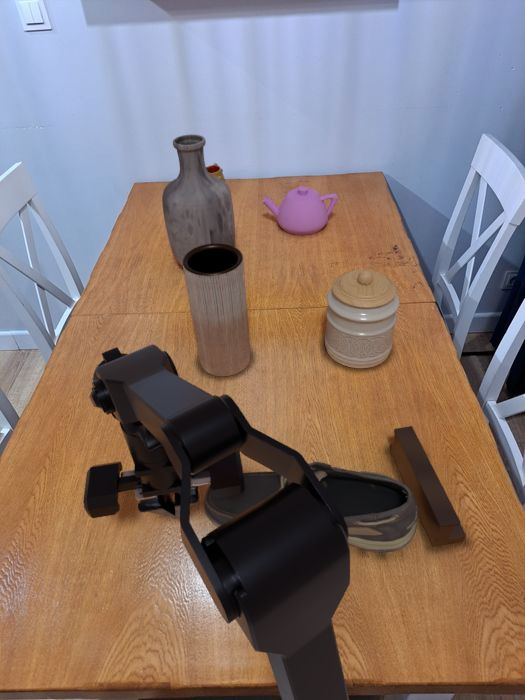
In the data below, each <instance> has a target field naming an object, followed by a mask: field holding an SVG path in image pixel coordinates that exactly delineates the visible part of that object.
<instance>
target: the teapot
mask: <svg viewBox="0 0 525 700" xmlns="http://www.w3.org/2000/svg"><path fill="white" fill-rule="evenodd" d="M338 198H339V197H338V194H337V193H327V194H324V195H322V196H321V195H320V193H319V192H318V191H317V190H316V189H314V188H309V187H308V186H306V185H301V186H298V187H297V188H293V189H291V190H289V191H288V192H287V193H286V195H285V196H284V198H283V199H282V201H281V202H280V205H279V207H278V205H277V204H276V203H275V202H274V201H273V200H272V198H271V197H270V196H266V197H264V198H263V200H262V204H263V205H264V206H265V207H266V208H267V209H268V211H270V213H272V214H273V215H274V217H275V218H276V221H277V223H278V226H280V228H281V229H283V231H284V232H286V233H289V234H291V235H295V236H296V235H297V236H307V235H314V234H316V233H318V232H320V231H322V229H323V228H324V227H325V226H326V225H327V223H328V221H329V216H330V214H331V213H332V211H333V209H334V208H335V206H336V205H337V204H338V203H337V202H338ZM326 200H330V203H329V206H328V208H327V205H326V203H325V201H326Z"/></svg>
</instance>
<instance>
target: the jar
mask: <svg viewBox="0 0 525 700" xmlns="http://www.w3.org/2000/svg"><path fill="white" fill-rule="evenodd" d="M331 285H332V286H331V287H330V289H329V291H328V292H327V295H326V302H327V307H326V311H325V315H326V323H325V324H326V325H325V326H326V327H325V333H324V345H325V350H326V352H327V355H328V356H329V357H330V358H331V359H332V360H333V361H334V362H336V363H338V364H340V365H342V366H344V367H349V368H351V369H368V368H373V367H376V366H379V365H380V364H382V363H383V362H385V361H386V359H388V357H389V355H390V353H391V351H392V348H393V344H394V343H393V341H394V339H393V337H394V332H395V327H396V323H397V321H398V314H397V311H398V310H399V307H400V303H401V302H400V297H399V294H398V291H397V290H398V289H397V285H396V283H395V282H394V281H393V280H392V279H391V278H389V277H388V276H386V274H385V275H384V274H383V273H381V272H379V271H375V270H372V269H362V268H361V269H353V270H350V271H347V272H344V273H342V274H340V275H338V276H337V277H336V278H335V279H334V280H333V282H332V284H331Z"/></svg>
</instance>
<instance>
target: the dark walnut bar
mask: <svg viewBox="0 0 525 700" xmlns="http://www.w3.org/2000/svg"><path fill="white" fill-rule="evenodd" d="M393 434H394V436H393V438H392V444H391V449H390V453H391V456H392V458H393V460H394V462H395V465H396V467H397V469H398V471H399V474H400V477H401V478H402V481H403V484H405V485H406V486H407V487H408V488H409V489H410V490H411V492H412V494H413V496H414V498H415V501H416V504H417V508H418V517H419V519H420V522H421V524H422V526H423V528H424V531H425V532H426V535H427V537H428V539H429V542H430V544H431V546H432V548H437V547H443V546H448V545H452V544H458V543H459V544H460V543H464V542H465V539H466V538H467V534H466V533H465V531H464V528H463V527H462V525H461V520H460V518H459V516H458V514H457V512H456V510H455V508H454V506H453V504H452V502H451V500H450V498H449V496H448V494H447V492H446V490H445V489H444V486H443V485H442V482H441V480H440V479H439V477H438V475H437V473H436V471H435V469H434V467H433V465H432V463H431V461H430V459H429V457H428V455H427V453H426V451H425V449H424V447H423V445H422V443H421V440H420V439H419V437H418V436H417V433H416V432H415V429H414V427H413V426H412V425H409V426H402V427H396V428H394V429H393Z"/></svg>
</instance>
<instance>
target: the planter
mask: <svg viewBox="0 0 525 700" xmlns="http://www.w3.org/2000/svg"><path fill="white" fill-rule="evenodd" d="M182 264H183V266H182V269H183V275H184V280H185V287H186V292H187V299H188V304H189V308H190V316H191V321H192V327H193V332H194V338H195V344H196V350H197V354H198V361H199V364H200V367H201V368H202V370H203V371H205V372H206V373H208V374H210V375H212V376H216V377H230V376H233V375H236V374H239V373H241V372H243V371H244V370H245V369H246V368H247V367H248V366H249V365H250V362H251V358H252V357H251V356H252V355H251V341H250V340H251V339H250V328H249V315H248V302H247V290H246V279H245V277H246V276H245V263H244V255H243V253H242V251H241V250H240V249H239V248H237V247H236V246H235V247H233V246H231V245H227V244H220V243H214V244H206V245H202V246H199V247H196V248H194V249H192V250H190V251H189V252H188V253H187V254H186V255H185V256H184V258H183V262H182Z"/></svg>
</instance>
